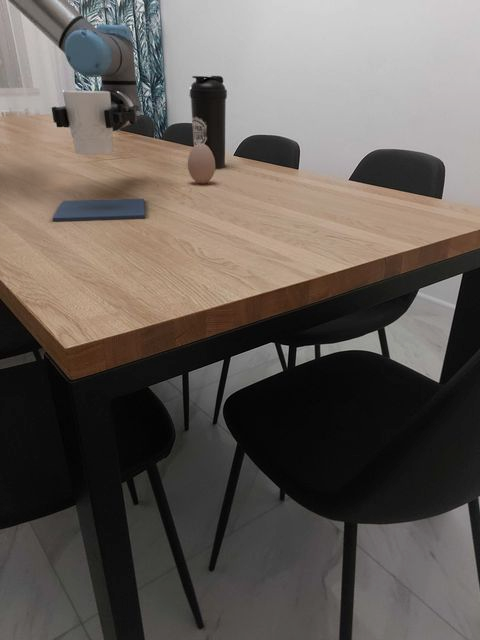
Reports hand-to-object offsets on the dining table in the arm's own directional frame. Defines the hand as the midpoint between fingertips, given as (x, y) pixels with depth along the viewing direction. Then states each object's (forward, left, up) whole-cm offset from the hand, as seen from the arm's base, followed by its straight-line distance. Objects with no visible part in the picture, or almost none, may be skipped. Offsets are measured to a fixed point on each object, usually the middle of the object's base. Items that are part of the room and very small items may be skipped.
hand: (82, 118), depth 85 cm
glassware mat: (+1, +4, -16) cm, 17 cm away
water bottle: (+28, +54, -17) cm, 63 cm away
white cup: (+1, +5, -6) cm, 8 cm away
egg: (+23, +29, -17) cm, 41 cm away
